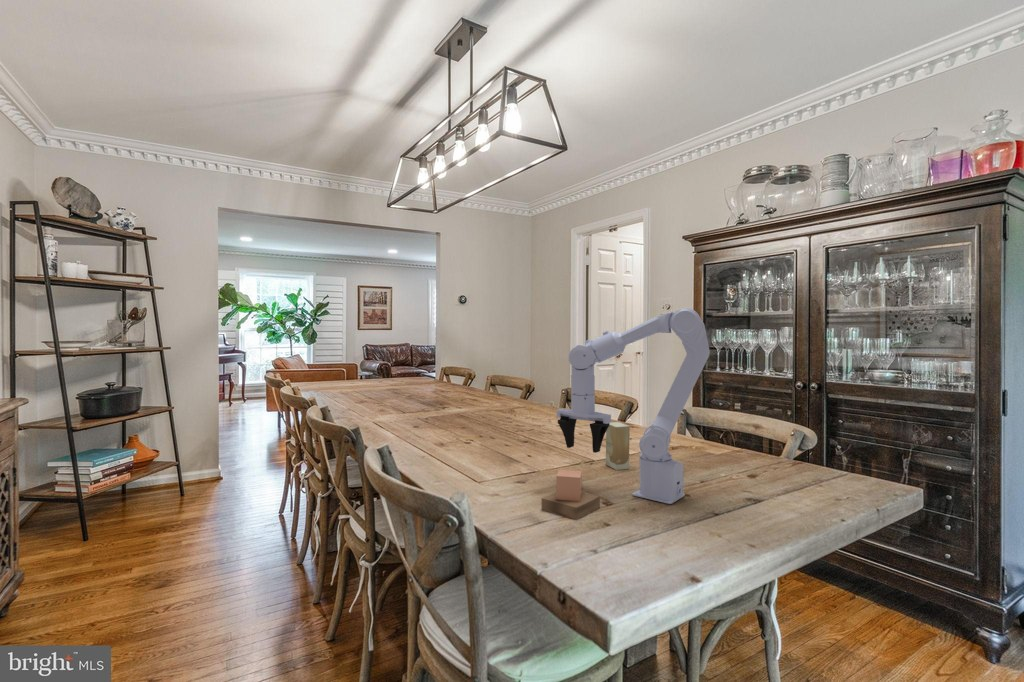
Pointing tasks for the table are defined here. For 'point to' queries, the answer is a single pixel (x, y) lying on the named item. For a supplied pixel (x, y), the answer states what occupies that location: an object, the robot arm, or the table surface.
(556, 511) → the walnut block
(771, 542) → the table surface
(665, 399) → the robot arm
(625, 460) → the skincare box
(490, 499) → the table surface
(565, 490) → the terracotta cube
